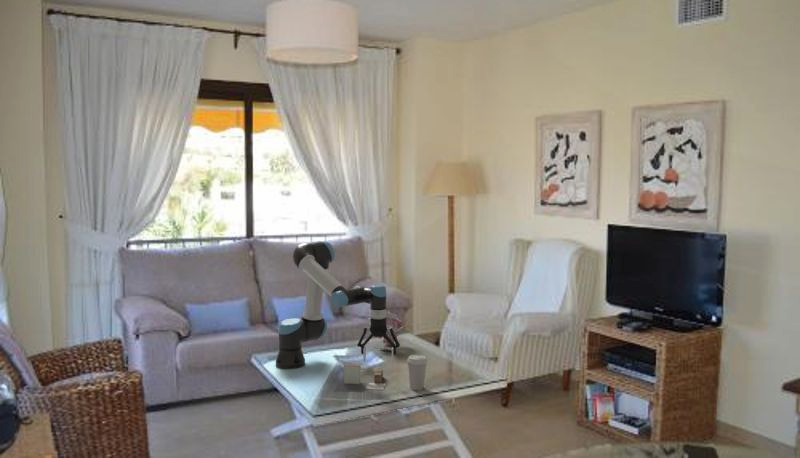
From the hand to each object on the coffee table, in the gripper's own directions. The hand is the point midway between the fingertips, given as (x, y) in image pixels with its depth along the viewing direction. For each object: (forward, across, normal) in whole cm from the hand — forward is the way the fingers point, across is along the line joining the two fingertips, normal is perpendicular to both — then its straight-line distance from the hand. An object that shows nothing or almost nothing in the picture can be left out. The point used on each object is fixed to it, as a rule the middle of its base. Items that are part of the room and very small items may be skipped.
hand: (378, 361), depth 321 cm
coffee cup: (+11, +19, -5) cm, 22 cm away
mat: (+11, -12, -8) cm, 18 cm away
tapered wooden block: (+11, 0, -3) cm, 11 cm away
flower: (+11, -2, +60) cm, 61 cm away
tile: (+10, -12, -3) cm, 16 cm away
